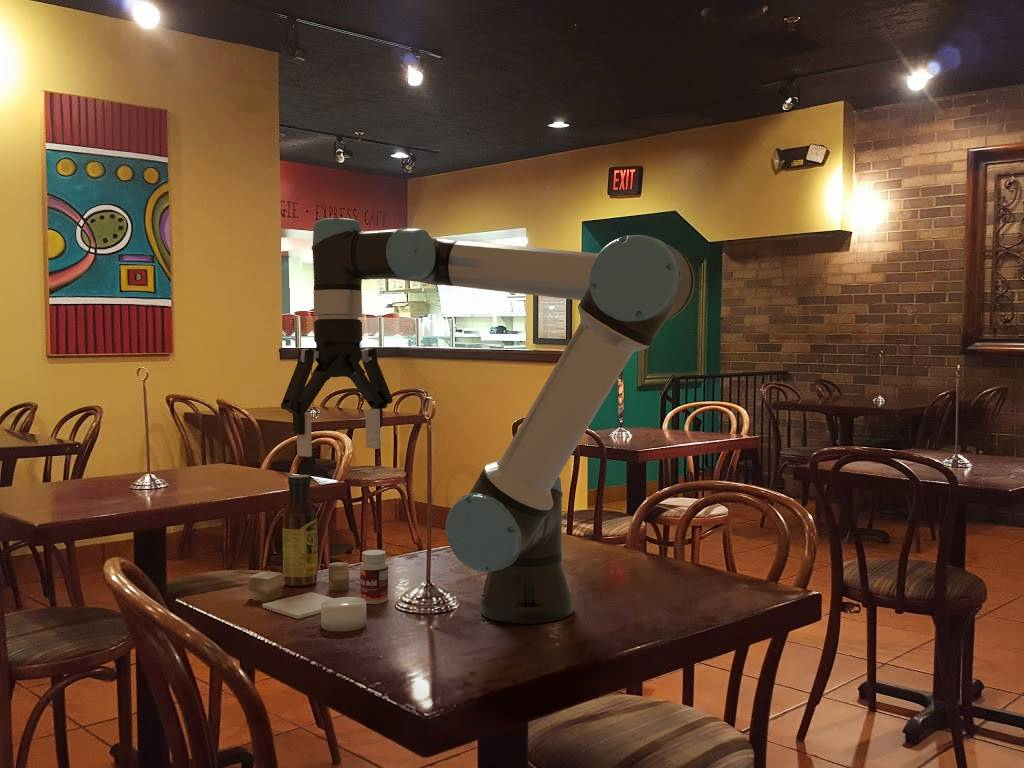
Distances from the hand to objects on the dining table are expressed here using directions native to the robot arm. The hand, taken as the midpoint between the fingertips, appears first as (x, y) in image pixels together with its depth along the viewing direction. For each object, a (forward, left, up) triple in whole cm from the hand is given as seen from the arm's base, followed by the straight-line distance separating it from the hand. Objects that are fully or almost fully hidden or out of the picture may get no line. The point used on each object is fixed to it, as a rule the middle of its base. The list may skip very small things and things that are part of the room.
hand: (339, 452), depth 150 cm
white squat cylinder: (-3, +2, -27) cm, 27 cm away
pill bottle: (+4, -10, -27) cm, 29 cm away
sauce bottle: (+23, -9, -27) cm, 37 cm away
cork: (+15, -11, -27) cm, 33 cm away
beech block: (+20, +1, -27) cm, 33 cm away
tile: (+10, 0, -27) cm, 29 cm away
